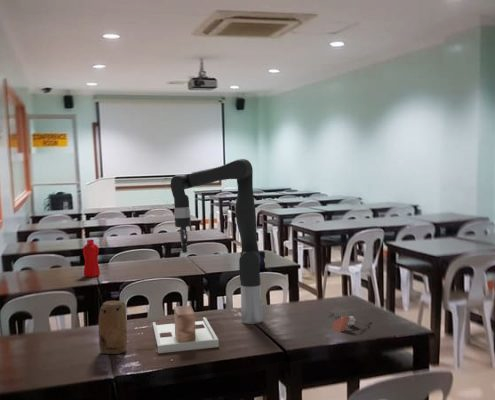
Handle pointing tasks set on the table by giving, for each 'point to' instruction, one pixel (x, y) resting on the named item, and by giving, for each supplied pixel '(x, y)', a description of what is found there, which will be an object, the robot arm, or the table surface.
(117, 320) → the block
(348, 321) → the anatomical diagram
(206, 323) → the box
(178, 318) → the terracotta block
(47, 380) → the table surface
